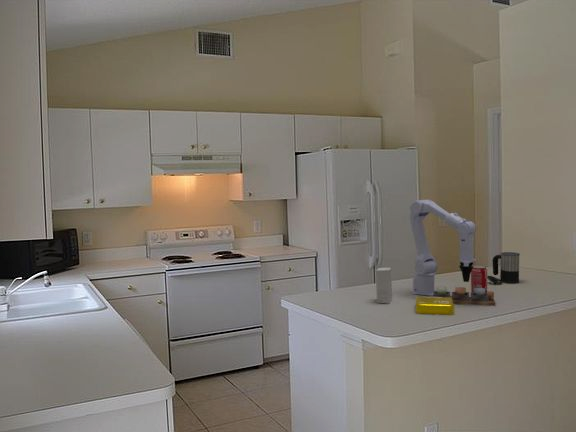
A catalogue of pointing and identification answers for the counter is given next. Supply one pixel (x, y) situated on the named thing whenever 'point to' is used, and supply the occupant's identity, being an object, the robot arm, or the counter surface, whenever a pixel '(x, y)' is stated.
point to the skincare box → (384, 285)
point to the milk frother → (506, 268)
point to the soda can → (479, 278)
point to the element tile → (434, 305)
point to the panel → (469, 298)
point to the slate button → (479, 291)
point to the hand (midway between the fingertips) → (466, 279)
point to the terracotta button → (460, 291)
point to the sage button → (441, 290)
